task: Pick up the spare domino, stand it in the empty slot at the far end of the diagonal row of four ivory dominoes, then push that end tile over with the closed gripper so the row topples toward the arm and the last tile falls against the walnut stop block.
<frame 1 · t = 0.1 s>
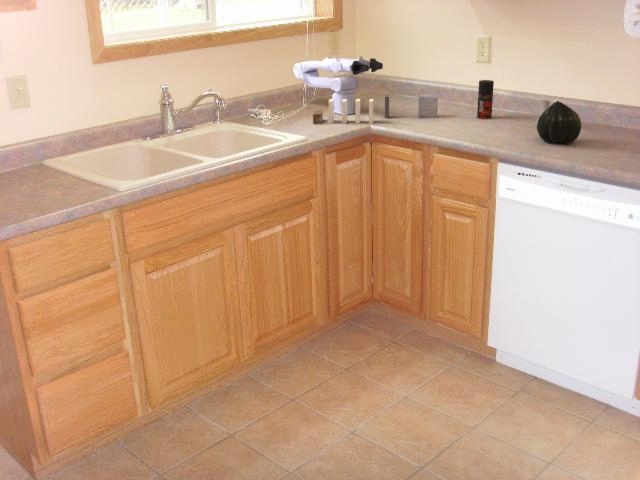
hand: (375, 67, 302), 22 cm above the worktop, tool horizontal, fingers open, 7 cm apart
domino 2: (344, 121, 307), on the worktop
deodorant: (484, 118, 308), on the worktop
domino 3: (357, 121, 307), on the worktop
medicine box: (427, 117, 313), on the worktop
domino 4: (371, 121, 306), on the worktop
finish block: (317, 121, 309), on the worktop
flask: (544, 126, 292), on the worktop
domino 1: (331, 121, 308), on the worktop
squash: (556, 142, 269), on the worktop
spare domino: (387, 117, 314), on the worktop
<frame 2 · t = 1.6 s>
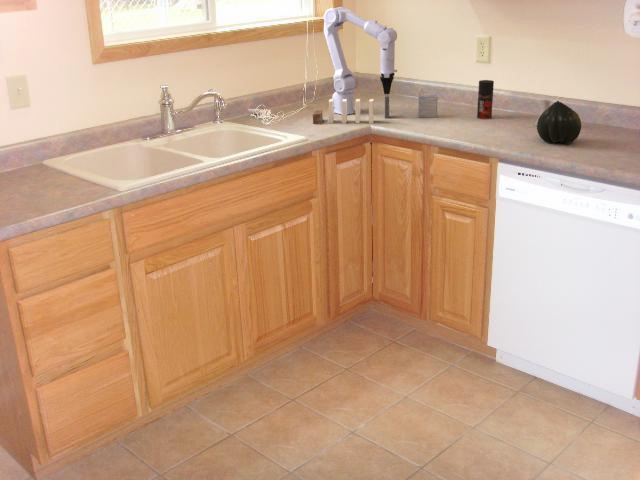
hand: (387, 92, 310), 10 cm above the worktop, tool pointing down, fingers open, 7 cm apart
nothing on the worktop moved.
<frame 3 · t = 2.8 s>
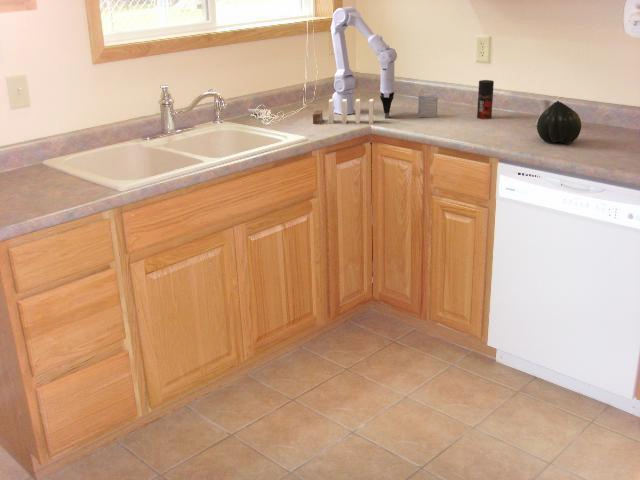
hand: (387, 111, 313), 2 cm above the worktop, tool pointing down, fingers closed on spare domino, 5 cm apart
spare domino: (387, 117, 314), on the worktop, touching gripper
everything else where it was.
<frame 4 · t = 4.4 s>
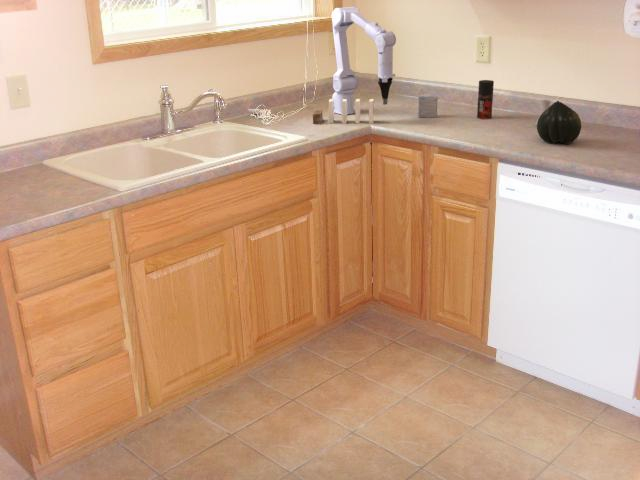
hand: (385, 97, 302), 10 cm above the worktop, tool pointing down, fingers closed on spare domino, 5 cm apart
spare domino: (385, 103, 303), point 8 cm above the worktop, touching gripper
everything else where it was.
when the fingers open (3 cm above the worktop, at t = 6.3 s): spare domino stays where it is, on the worktop.
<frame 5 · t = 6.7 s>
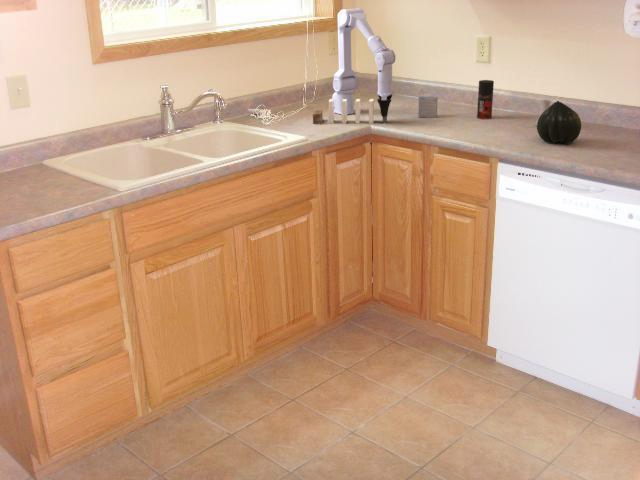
hand: (384, 114, 304), 3 cm above the worktop, tool pointing down, fingers open, 7 cm apart
spare domino: (384, 122, 305), on the worktop
everything else where it was.
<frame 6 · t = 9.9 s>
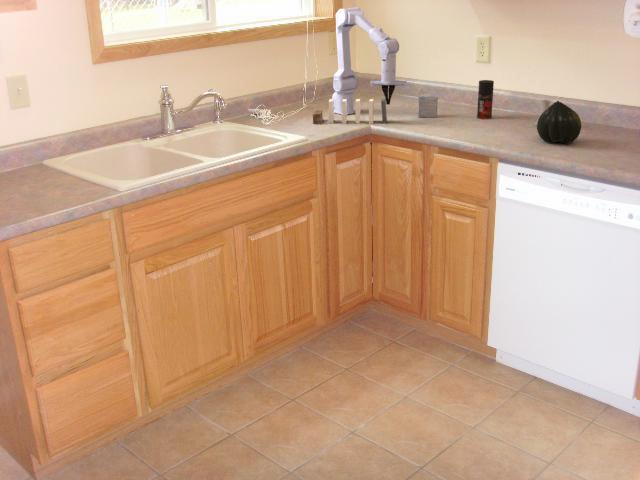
hand: (388, 104, 302), 7 cm above the worktop, tool pointing down, fingers closed
nothing on the worktop moved.
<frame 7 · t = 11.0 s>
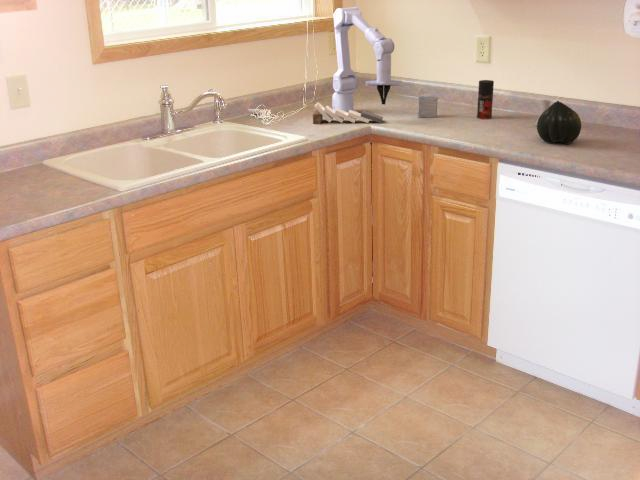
hand: (383, 104, 303), 7 cm above the worktop, tool pointing down, fingers closed
domino 2: (343, 120, 307), point 1 cm above the worktop, tilted 56°, touching domino 1, domino 3
domino 3: (355, 120, 306), point 1 cm above the worktop, tilted 64°, touching domino 2, domino 4
domino 4: (369, 120, 306), point 1 cm above the worktop, tilted 70°, touching domino 3, spare domino
domino 1: (331, 120, 308), point 1 cm above the worktop, tilted 43°, touching domino 2, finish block
spare domino: (382, 120, 305), point 1 cm above the worktop, tilted 71°, touching domino 4
everything else where it was.
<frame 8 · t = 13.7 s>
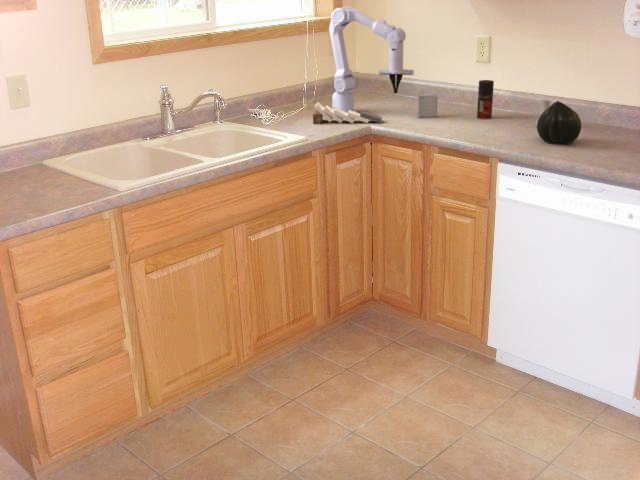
hand: (395, 92, 309), 10 cm above the worktop, tool pointing down, fingers closed
at the end: domino 1 tilted 44°; spare domino tilted 71°; the gripper is holding nothing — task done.
